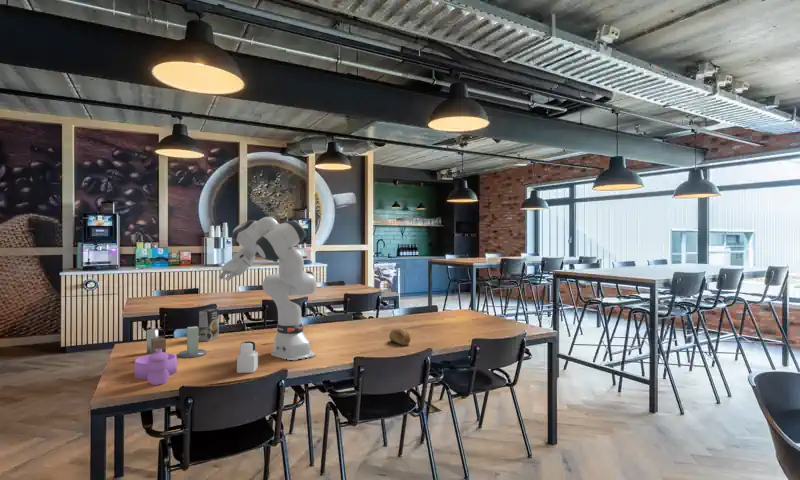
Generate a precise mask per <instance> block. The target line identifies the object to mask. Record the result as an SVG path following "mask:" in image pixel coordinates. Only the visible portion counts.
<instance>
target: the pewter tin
mask: <svg viewBox="0 0 800 480" xmlns="http://www.w3.org/2000/svg"><path fill="white" fill-rule="evenodd" d="M159 333H160V331H159V328H152V329H151V328H150V329H147V330H146V354H147V355H151V339H153V338H160V336H159V335H160V334H159Z"/></svg>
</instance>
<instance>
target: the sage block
mask: <svg viewBox="0 0 800 480" xmlns="http://www.w3.org/2000/svg"><path fill="white" fill-rule="evenodd" d="M186 332H187V333H186V335H187V336H186V350H187V353H189V354H192V353H198V349H199V326H197V325H195V326H187V328H186Z"/></svg>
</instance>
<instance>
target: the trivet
mask: <svg viewBox="0 0 800 480" xmlns="http://www.w3.org/2000/svg"><path fill="white" fill-rule="evenodd" d="M206 354H207V349H202V348H201V349H200V348H198V353H192V354H189V353H187V349H186V350H183V351H180V352H178V355H177V357H179V358H182V359H192V358H199V357H203V356H205V355H206Z"/></svg>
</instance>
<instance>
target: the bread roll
mask: <svg viewBox="0 0 800 480" xmlns="http://www.w3.org/2000/svg"><path fill="white" fill-rule="evenodd" d="M389 340H390V341H392V342H393V343H396V344H399V345H402V346H404V345H405V346H406V345H409V344H410V342H411V336H410V333H409V332H408V331H407V329H404V328H401V327H400V328H399V327H398V328H396V327H395V328H392V329H391V330H390V332H389Z"/></svg>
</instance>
